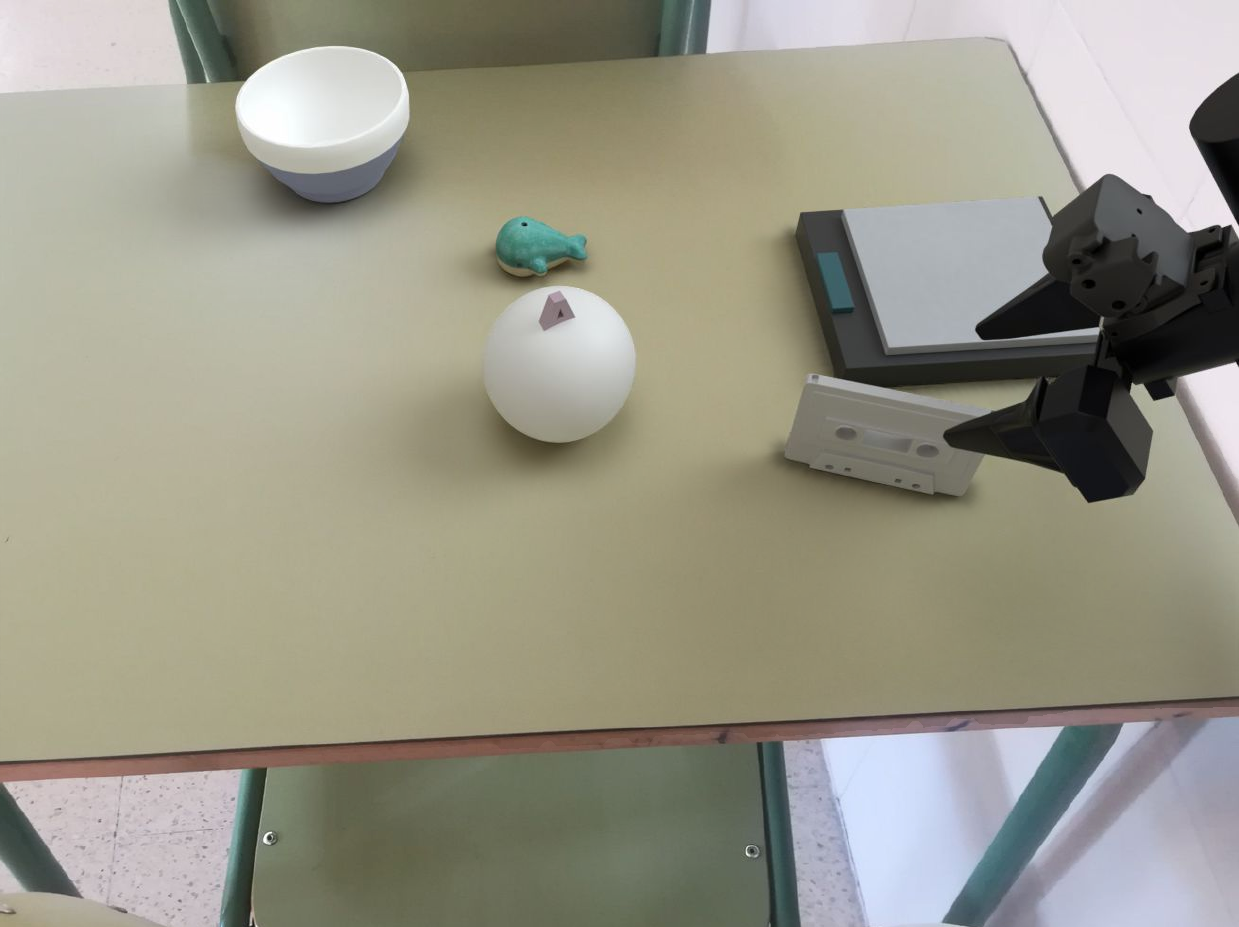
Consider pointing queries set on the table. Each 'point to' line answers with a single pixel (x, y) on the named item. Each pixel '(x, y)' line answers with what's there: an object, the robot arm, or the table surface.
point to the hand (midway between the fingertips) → (962, 384)
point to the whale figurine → (535, 247)
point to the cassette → (882, 436)
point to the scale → (932, 291)
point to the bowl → (325, 120)
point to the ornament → (559, 363)
